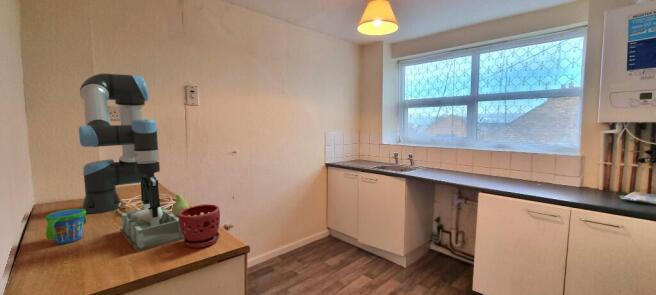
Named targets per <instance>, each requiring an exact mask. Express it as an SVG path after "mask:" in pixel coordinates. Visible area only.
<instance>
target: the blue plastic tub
mask: <svg viewBox="0 0 656 295" xmlns="http://www.w3.org/2000/svg"><path fill="white" fill-rule="evenodd" d="M86 214H87V213H86V211H85V209H82V208H72V209H71V208H70V209H64V210H58V211H55V212H51V213H49V214H47V215H46V216H45V221H46V222H47V225H46V231H45V238H46V239H47V240H53V241H54V243H56V244H58V245H59V244H60V245H62V244H68V243H73V242H76V241H78V240H79V239H81V238H83V235H84V234H83V233H84V227H85V226H84V225H86V223H87V222H88V221H87V216H86Z"/></svg>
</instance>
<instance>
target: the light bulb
mask: <svg viewBox="0 0 656 295" xmlns="http://www.w3.org/2000/svg"><path fill="white" fill-rule="evenodd" d="M148 208H150V206H149V207H147V208H146V209H144V208H143V209H141V210H142V211H139V210H137V211H138V212H136V213H130V214H129V216H128V218H129V220H130V221H134V220H137V221H143V222H147V223H150V212H149V210H148ZM158 211H159V220H160V219H161V218H162V215H163V212H162V209H161V208H160V207H158Z"/></svg>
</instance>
